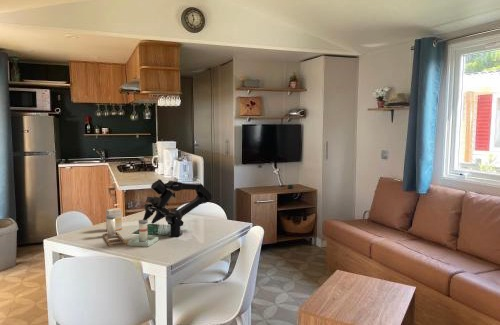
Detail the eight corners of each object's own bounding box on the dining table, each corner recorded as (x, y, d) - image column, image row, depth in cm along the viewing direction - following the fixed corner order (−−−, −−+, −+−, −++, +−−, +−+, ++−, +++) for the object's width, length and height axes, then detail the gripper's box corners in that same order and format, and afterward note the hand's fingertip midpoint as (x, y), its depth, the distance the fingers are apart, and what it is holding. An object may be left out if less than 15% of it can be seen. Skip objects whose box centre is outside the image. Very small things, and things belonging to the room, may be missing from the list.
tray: (138, 239, 217) (138, 235, 217) (158, 240, 215) (158, 237, 215) (127, 245, 206) (127, 241, 206) (148, 247, 203) (148, 243, 203)
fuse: (110, 234, 226) (109, 214, 225) (117, 235, 225) (117, 215, 224) (105, 237, 222) (104, 216, 221) (112, 237, 221) (112, 217, 220)
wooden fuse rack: (102, 235, 225) (102, 233, 225) (121, 233, 230) (121, 231, 230) (109, 246, 204) (109, 244, 204) (129, 243, 209) (129, 241, 209)
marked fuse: (139, 240, 212) (139, 219, 211) (148, 240, 213) (148, 219, 212) (138, 243, 208) (137, 221, 207) (147, 243, 208) (146, 221, 207)
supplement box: (118, 228, 242) (118, 207, 241) (122, 229, 239) (121, 208, 237) (106, 230, 236) (105, 209, 235) (109, 231, 233) (108, 210, 232)
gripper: (145, 189, 220) (129, 211, 213) (163, 192, 207) (146, 216, 200) (158, 200, 226) (143, 222, 220) (176, 204, 213) (160, 227, 206)
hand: (147, 222), depth 211 cm, fingers open, 9 cm apart
